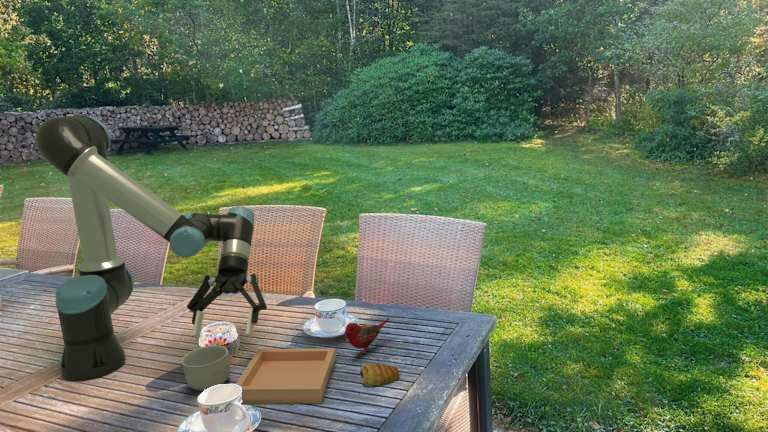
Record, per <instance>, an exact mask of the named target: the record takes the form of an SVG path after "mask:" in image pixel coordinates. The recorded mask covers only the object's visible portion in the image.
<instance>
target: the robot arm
mask: <svg viewBox="0 0 768 432" xmlns="http://www.w3.org/2000/svg"><path fill="white" fill-rule="evenodd" d="M35 143H36V147H37V151H38V152H39V153H40V155H41V156H42V157H43V159H44V160H45V161H46V162H48V163H49V164H50V165H51V166H52V167H53V168H55V169H56V170H58V172H60V173H61V174H63V175H65V177H67V181H68V185H69V190H70V194H71V195H70V197H71V201H72V206H73V211H74V212H73V213H74V217H75V222H76V223H75V224H76V228H77V232H78V233H77V234H78V239H79V244H80V250H81V256H82V262H81V264H80V265H79V266H78V267H77V268H78V269H77V270H78V273H79V276H77V277H74V278H73V279H68V280H67V281H64V282H63V283H62V284H60V285H59V286H58V287H57V289H56V291H55V307H56V309H57V314H58V319H59V324H60V325H59V326H60V329H61V335H62V340H63V345H64V346H63V351H62V355H61V356H62V357H61V363H60V371H61V376H62V378H64V379H65V380H68V381H79V382H80V381H87V380H93V379H97V378H102V377H104V376H106V375H108V374H112V373H114V372H115V371H117V370H119V369H120V368H121V367H122V366H123V365H125V363H126V353H125V349H124V348H123V347H122V345H121V343H120V342H119V340H118V337H117V336H116V335H115V331H114V327H113V326H114V325H113V320H112V314H113V313H115V311H117V310H118V308H120V307H121V306H123V305H124V304H125V303H127V301H128V299H129V298H130V297H131V294H133V291H134V287H135V279H134V275H133V273H132V272H131V270H130V269H129V268H127V266H126V264H125V263H126V261H125V259H124V258H122V257H121V256H119V255H118V250H117V245H116V244H117V243H116V239H115V233H114V228H113V227H114V226H113V221H112V215H111V210H110V205H109V202H111V203H112V204H114V205H115V206H116V207H118V208H120V209H121V210H122V211H123V212H125V213H127V214H128V215H130V216H131V217H132V218H134V219H135V220H136V221H138V222H140V223H141V224H143V225H144V226H146V227H147V228H148V229H149V230H151V231H152V232H154V233H155V234H157V235H158V236H159V237H161V238H163V239H164V240H166V241H167V242H168V243H169V247H170V250H171V251H172V253H174V254H175V255H176V256H178V257H180V258H190V257H193V256H195V255H196V254H198V253H199V252H201V251H202V250H203V249H204V247H205V245H207V244H208V242H222V246H221V251H220V257H219V258H220V259H219V263H218V269H217V274H216V276H215V277H213V276H209V274H208V275H205V277H204V279H203V282H202V284H201V285H200V287H199V289H197V291H196V292H195V294H194V295H193V296H192V298H191V299H190V301H189V302H188V304H187V305H186V309H188V310H189V312H191V313H192V319H191V324H192V325H193V330H192V337H194V338H195V340H199V339H200V336H201V331H202V327H203V326H202V325H203V320H204V313H203V311H204V310H205V309H206V308H207V307H209V305H211V303H213V302H214V301H215V300H216V299H217V298H218V297H220V296H221V295H222V294H225V295H228V294H237V293H239V292H240V293H241V295H242V296H243V297H244V300H246V301H247V302H248V304H249V305H250V306H251V308H249V309H248V316H247V325H246V330H245V335H246V336H247V337H248V338H253V333H254V326H255V324H258V321H259V315H260V312H261V311H262V310H263V311H266V310H267V309H268V306H267V304H266V301H265V299H264V296H263V294H262V291H261V289H260V287H259V278H258V277H257V275H256V274H255V273H252V274H251V275H248V276H247V274H248V270H249V260H250V254H251V246H252V240H253V235H254V229H255V217H256V216H255V213H254V212H253V211H252V209H250V208H248V207H246V206H241V205H236V206H233V207H231V208H229V209H228V211H227V213H225V214H217V213H216V214H213V213H201V212H200V213H199V212H185V213H181V212H180V211H178V210H177V209H175V208H174V207H173V206H171V205H170V204H168V203H167V202H166V201H165V200H163V199H161V197H159V196H157V195H156V194H155V193H153V192H152V191H150V190H149V189H148V188H146V187H145V186H143V185H142V184H140V183H139V182H138V181H137V180H135V179H134V178H132V177H131V176H130V175H128V174H127V173H125V172H124V171H123V170H121V169H119V167H117V166H116V165H114V164H113V163H112V162H110V161H108V157H107V156H108V155H107V152H108V150H109V148H110V146H111V134H110V132H109V129H108V128H107V126H106V125H105V124H104V123H103V122H102V121H100V120H99V119H97V118H96V117H93V116H90V115H84V114H76V115H68V116H67V115H66V116H56V117H52V118H50V119H48V120H46V121H45V122H43V123H42V124H41V125H40V126H39V128H38V129H37V131H36V136H35ZM215 283H216V284H215ZM247 283H249V285H251V286H252V289H253V291H254V293H255V296H256V298H257V302H258V304H257V303H256V302H255V301H254V299H253V298H252V297H251V295H249V293H248V291H246V289H245V287H244V286H245V285H246V284H247ZM214 284H215V285H214ZM211 287H212V289H211ZM210 289H211V290H210ZM209 290H210V291H209Z"/></svg>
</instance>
